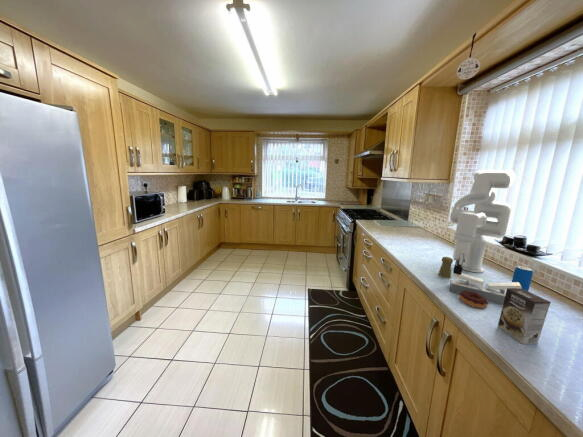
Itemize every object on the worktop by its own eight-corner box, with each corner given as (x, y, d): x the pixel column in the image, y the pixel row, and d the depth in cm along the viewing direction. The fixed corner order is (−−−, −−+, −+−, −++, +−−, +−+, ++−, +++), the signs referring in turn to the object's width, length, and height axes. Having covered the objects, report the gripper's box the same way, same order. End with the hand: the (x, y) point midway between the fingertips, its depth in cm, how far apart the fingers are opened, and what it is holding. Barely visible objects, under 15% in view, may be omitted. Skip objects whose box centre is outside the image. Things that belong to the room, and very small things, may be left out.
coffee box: (496, 326, 86) (505, 287, 82) (511, 326, 86) (521, 287, 83) (522, 344, 77) (534, 301, 73) (539, 344, 77) (551, 301, 74)
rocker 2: (487, 286, 108) (487, 282, 108) (519, 286, 102) (518, 282, 102) (489, 289, 105) (488, 285, 105) (522, 289, 99) (521, 285, 99)
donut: (491, 311, 95) (493, 303, 95) (463, 306, 99) (465, 298, 98) (481, 299, 105) (482, 292, 104) (456, 295, 108) (457, 287, 107)
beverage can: (524, 288, 117) (529, 266, 115) (530, 294, 111) (536, 271, 109) (508, 285, 120) (513, 264, 117) (513, 291, 114) (519, 268, 112)
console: (449, 284, 118) (451, 274, 117) (520, 302, 104) (523, 290, 103) (450, 291, 111) (452, 280, 110) (525, 310, 97) (529, 298, 96)
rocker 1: (454, 274, 115) (455, 271, 115) (481, 282, 110) (482, 278, 109) (454, 277, 112) (455, 273, 111) (482, 285, 106) (483, 282, 106)
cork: (452, 278, 125) (456, 260, 123) (440, 277, 127) (444, 258, 124) (447, 274, 131) (451, 256, 129) (436, 272, 132) (439, 255, 130)
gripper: (454, 233, 117) (447, 266, 121) (455, 239, 105) (448, 276, 108) (472, 236, 113) (465, 270, 117) (476, 242, 101) (468, 281, 104)
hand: (457, 273), depth 112 cm, fingers closed
